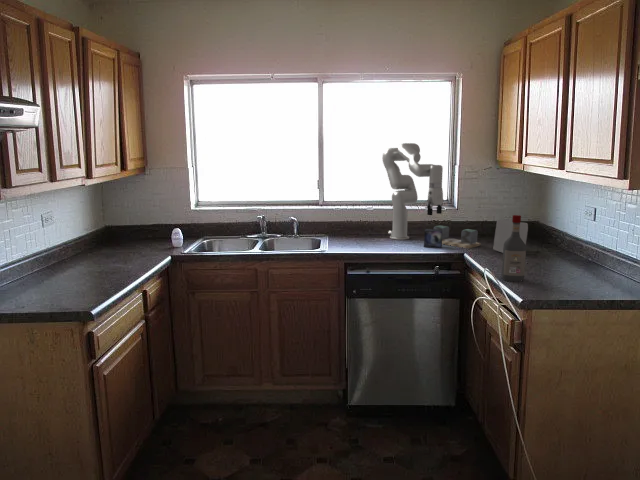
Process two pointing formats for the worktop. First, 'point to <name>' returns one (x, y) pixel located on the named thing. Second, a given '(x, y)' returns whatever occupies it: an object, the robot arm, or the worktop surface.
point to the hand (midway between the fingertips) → (434, 214)
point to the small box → (433, 238)
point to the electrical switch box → (507, 233)
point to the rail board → (466, 238)
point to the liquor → (514, 254)
